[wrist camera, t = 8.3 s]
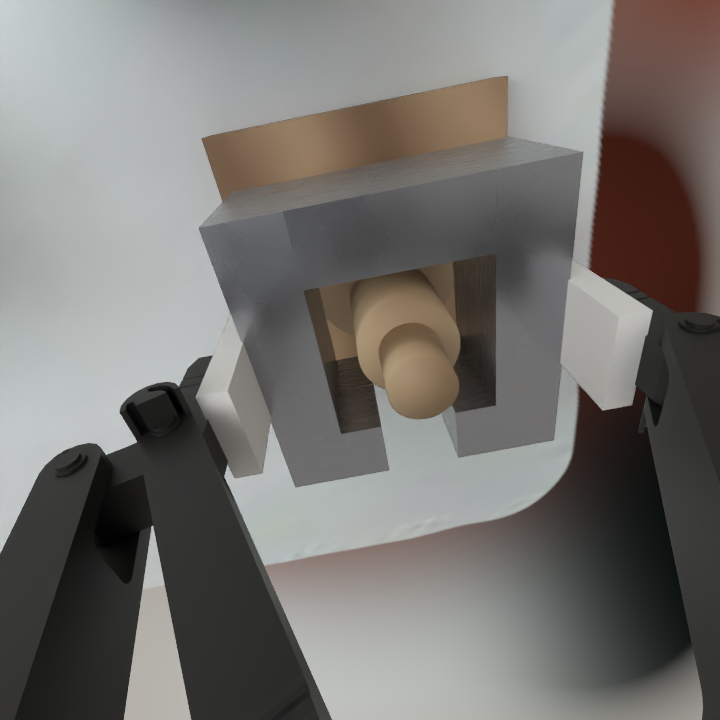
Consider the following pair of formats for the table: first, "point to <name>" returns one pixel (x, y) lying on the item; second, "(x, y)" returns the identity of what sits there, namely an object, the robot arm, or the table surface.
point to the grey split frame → (396, 254)
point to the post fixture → (392, 291)
